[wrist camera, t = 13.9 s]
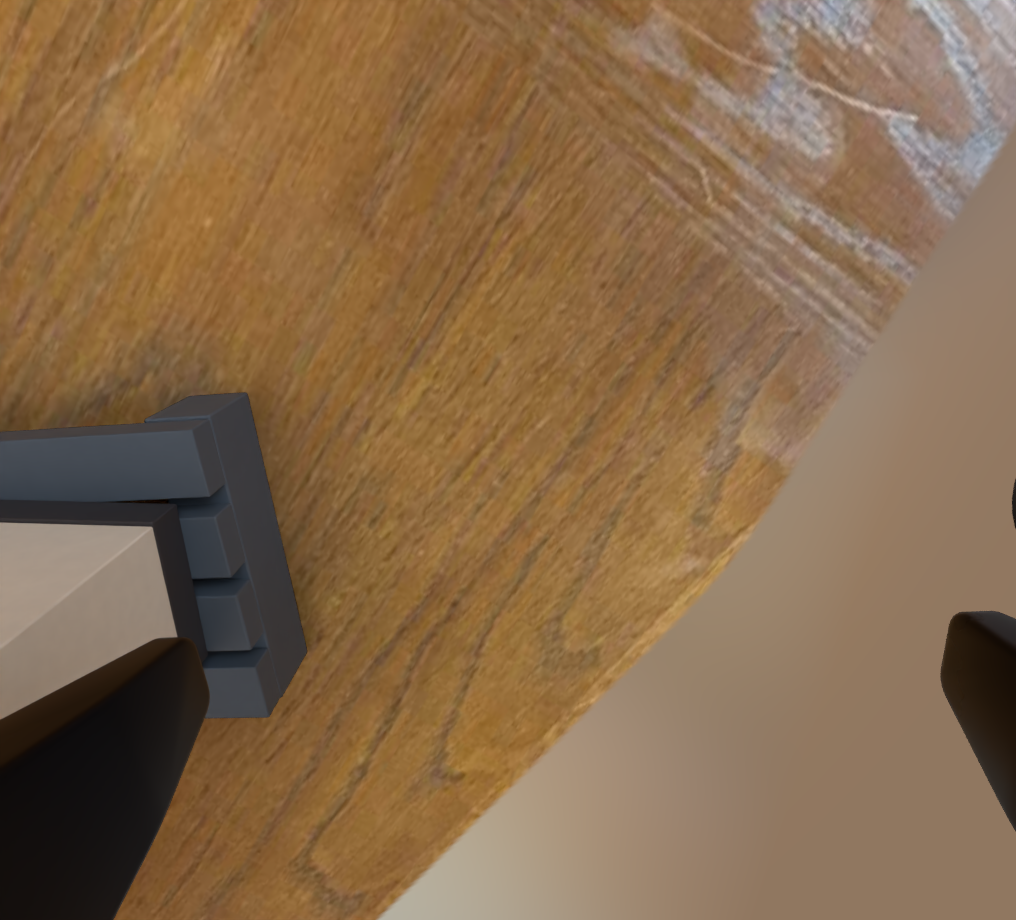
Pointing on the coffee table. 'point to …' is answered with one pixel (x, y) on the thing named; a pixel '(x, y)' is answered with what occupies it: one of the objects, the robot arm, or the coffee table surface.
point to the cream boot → (87, 590)
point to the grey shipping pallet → (190, 527)
